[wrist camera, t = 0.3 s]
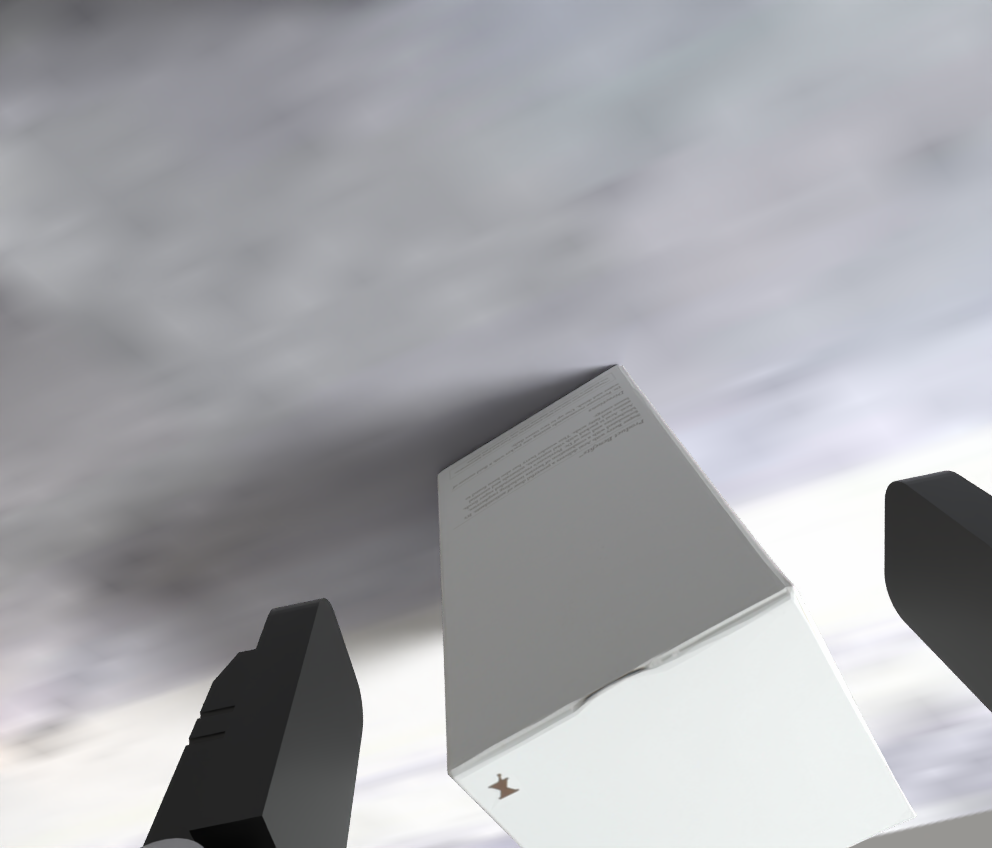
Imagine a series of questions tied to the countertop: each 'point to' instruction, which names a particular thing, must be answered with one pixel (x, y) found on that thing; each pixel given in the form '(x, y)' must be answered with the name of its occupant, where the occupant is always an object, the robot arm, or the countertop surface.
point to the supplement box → (637, 650)
